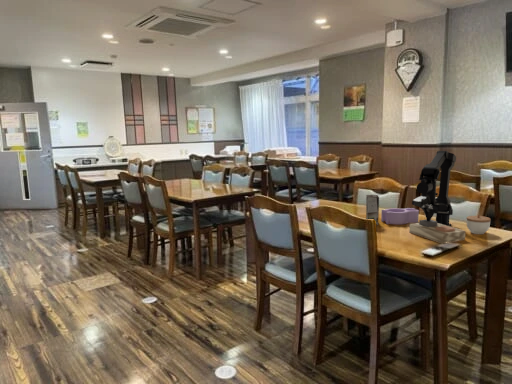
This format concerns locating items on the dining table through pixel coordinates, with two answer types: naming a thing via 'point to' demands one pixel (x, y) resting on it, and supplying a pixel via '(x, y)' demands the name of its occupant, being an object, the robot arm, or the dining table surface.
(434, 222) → the charcoal button
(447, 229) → the terracotta button
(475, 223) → the lidded jar
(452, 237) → the button console
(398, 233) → the dining table surface
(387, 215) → the mauve piece
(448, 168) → the robot arm
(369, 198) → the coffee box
